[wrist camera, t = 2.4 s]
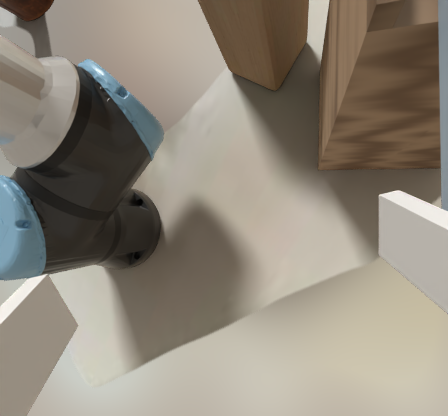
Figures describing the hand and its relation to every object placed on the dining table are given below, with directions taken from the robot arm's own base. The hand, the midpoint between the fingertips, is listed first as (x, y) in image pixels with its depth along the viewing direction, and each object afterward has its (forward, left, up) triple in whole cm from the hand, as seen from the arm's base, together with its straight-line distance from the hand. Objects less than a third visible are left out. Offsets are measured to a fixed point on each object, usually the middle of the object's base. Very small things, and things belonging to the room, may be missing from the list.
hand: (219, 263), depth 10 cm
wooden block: (-3, +30, -33) cm, 44 cm away
